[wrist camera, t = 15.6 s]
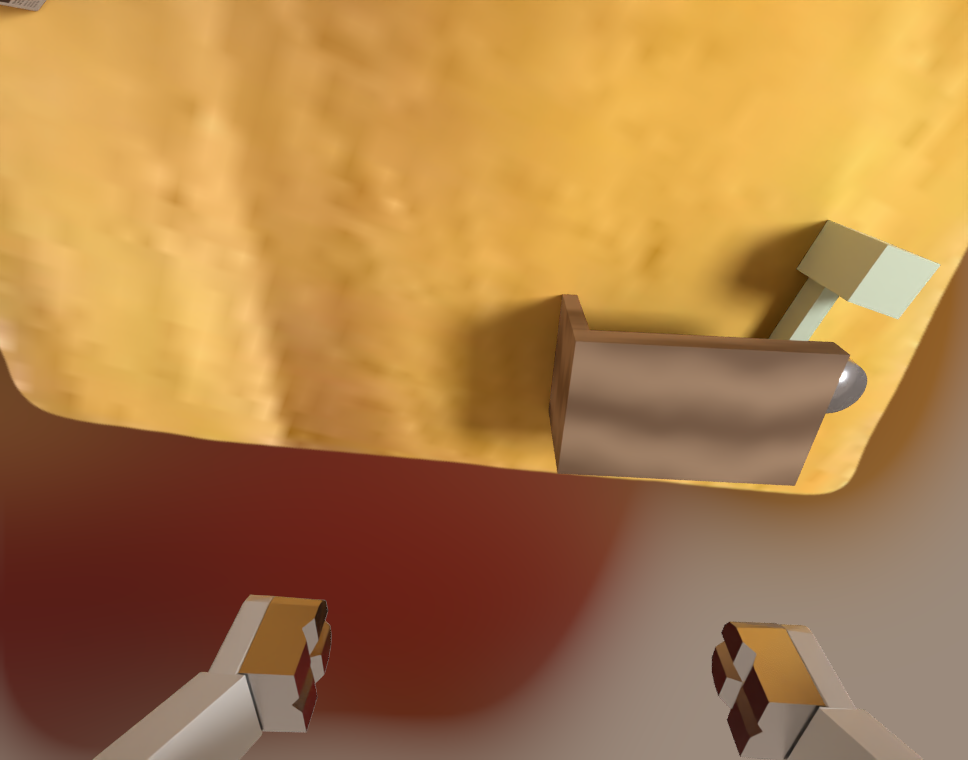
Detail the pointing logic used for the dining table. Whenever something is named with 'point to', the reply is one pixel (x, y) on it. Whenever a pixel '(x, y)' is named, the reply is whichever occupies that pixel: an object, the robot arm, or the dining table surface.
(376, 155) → the dining table surface
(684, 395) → the walnut shelf
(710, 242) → the dining table surface
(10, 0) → the coffee box
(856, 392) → the steel puck
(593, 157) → the dining table surface
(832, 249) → the sage paddle
